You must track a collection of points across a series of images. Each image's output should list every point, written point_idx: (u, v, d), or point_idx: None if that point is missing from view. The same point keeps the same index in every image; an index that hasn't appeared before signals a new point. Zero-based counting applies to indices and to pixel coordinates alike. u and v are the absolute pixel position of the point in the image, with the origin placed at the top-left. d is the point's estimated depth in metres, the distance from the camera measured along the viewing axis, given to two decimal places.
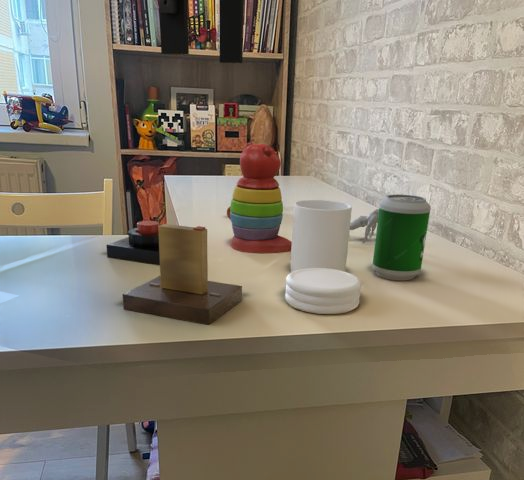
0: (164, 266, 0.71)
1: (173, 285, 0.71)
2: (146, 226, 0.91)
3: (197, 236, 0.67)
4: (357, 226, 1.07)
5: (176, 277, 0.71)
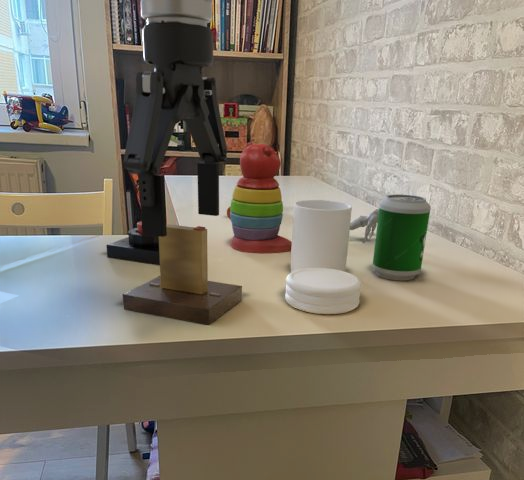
0: (164, 266, 0.71)
1: (173, 285, 0.71)
2: None
3: (197, 236, 0.67)
4: (357, 226, 1.07)
5: (176, 277, 0.71)
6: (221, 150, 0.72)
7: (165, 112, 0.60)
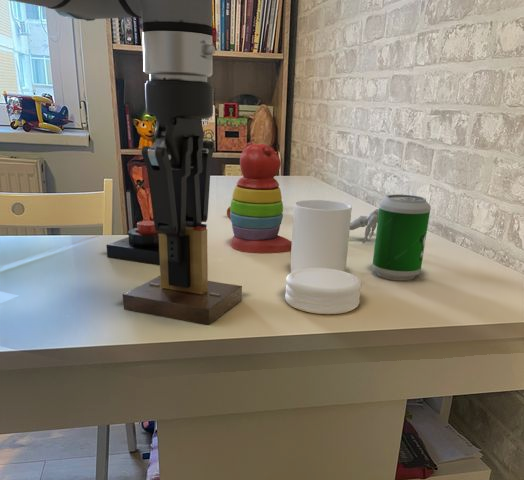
0: (164, 266, 0.71)
1: None
2: (146, 226, 0.91)
3: (197, 236, 0.67)
4: (357, 226, 1.07)
5: None
6: (202, 213, 0.71)
7: (174, 172, 0.64)
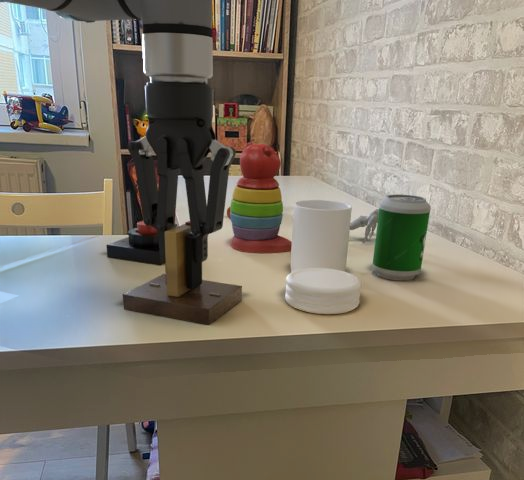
0: (180, 272, 0.68)
1: (185, 287, 0.70)
2: (146, 226, 0.91)
3: None
4: (357, 226, 1.07)
5: None
6: None
7: (199, 172, 0.65)
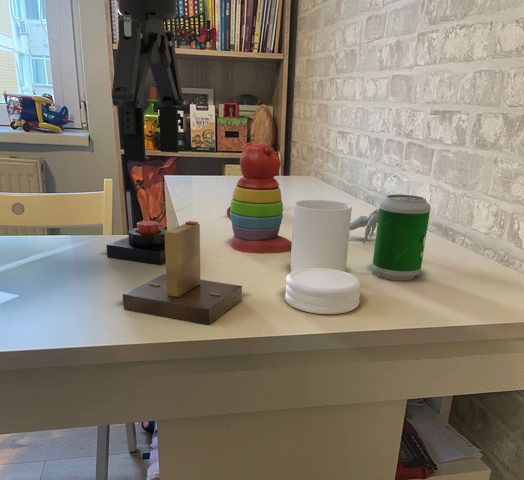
0: (180, 272, 0.68)
1: (185, 287, 0.70)
2: (146, 226, 0.91)
3: (197, 229, 0.71)
4: (357, 226, 1.07)
5: (187, 279, 0.70)
6: (178, 96, 0.85)
7: (140, 55, 0.72)
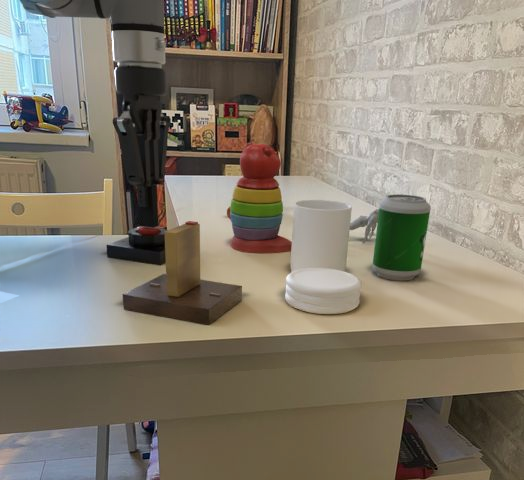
0: (180, 272, 0.68)
1: (185, 287, 0.70)
2: (146, 230, 0.91)
3: (197, 229, 0.71)
4: (357, 226, 1.07)
5: (187, 279, 0.70)
6: (160, 171, 0.91)
7: (139, 137, 0.85)
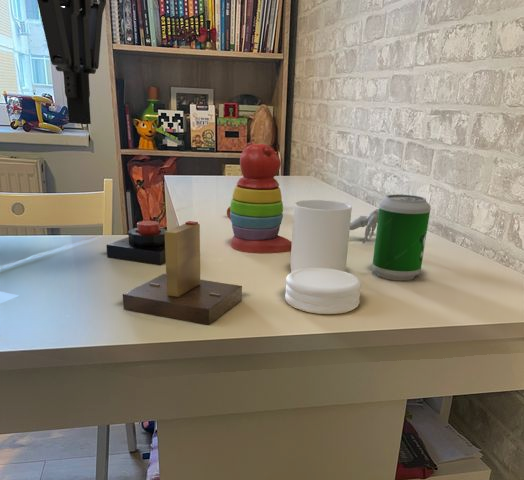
0: (180, 272, 0.68)
1: (185, 287, 0.70)
2: (146, 226, 0.91)
3: (197, 229, 0.71)
4: (357, 226, 1.07)
5: (187, 279, 0.70)
6: (92, 59, 0.79)
7: (65, 10, 0.73)
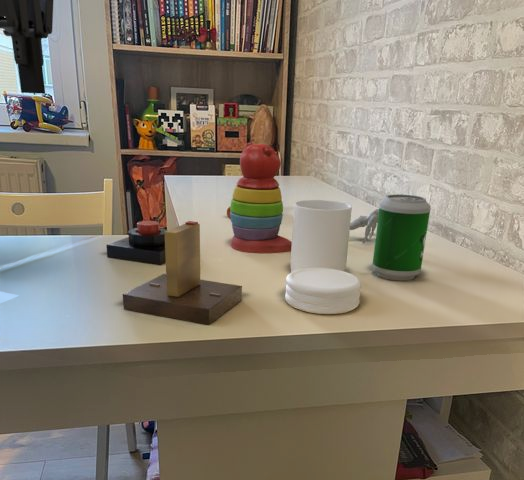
0: (180, 272, 0.68)
1: (185, 287, 0.70)
2: (146, 226, 0.91)
3: (197, 229, 0.71)
4: (357, 226, 1.07)
5: (187, 279, 0.70)
6: (44, 23, 0.73)
7: None
